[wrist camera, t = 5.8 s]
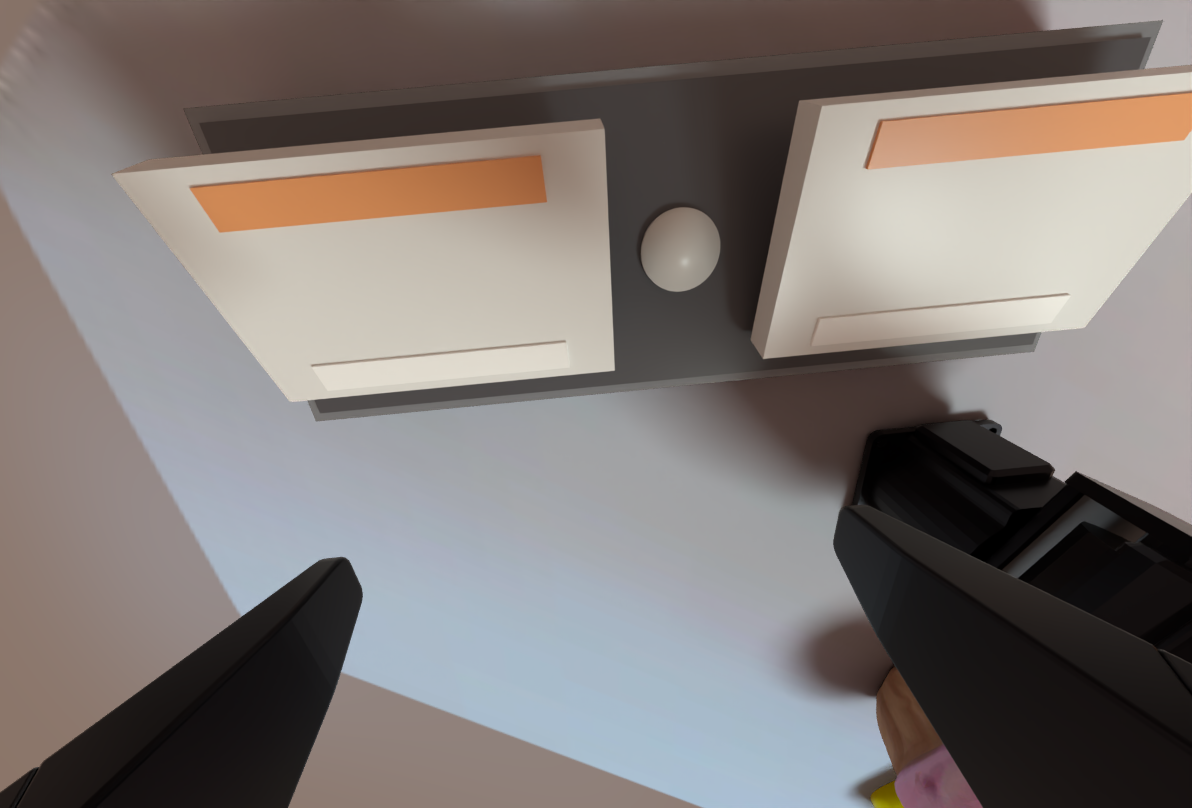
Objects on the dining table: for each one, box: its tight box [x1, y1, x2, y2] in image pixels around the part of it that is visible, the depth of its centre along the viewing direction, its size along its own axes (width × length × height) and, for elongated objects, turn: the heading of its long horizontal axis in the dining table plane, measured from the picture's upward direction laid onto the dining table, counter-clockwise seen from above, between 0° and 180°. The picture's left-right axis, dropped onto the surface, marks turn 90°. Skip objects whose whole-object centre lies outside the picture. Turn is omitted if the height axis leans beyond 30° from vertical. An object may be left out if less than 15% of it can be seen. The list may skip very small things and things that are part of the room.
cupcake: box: [876, 667, 983, 808], centre depth 26 cm, size 9×9×10 cm
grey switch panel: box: [184, 20, 1163, 421], centre depth 15 cm, size 10×28×3 cm, turn 95°
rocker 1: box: [112, 119, 615, 402], centre depth 12 cm, size 7×11×1 cm, turn 95°
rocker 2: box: [751, 65, 1192, 359], centre depth 12 cm, size 7×11×1 cm, turn 95°
